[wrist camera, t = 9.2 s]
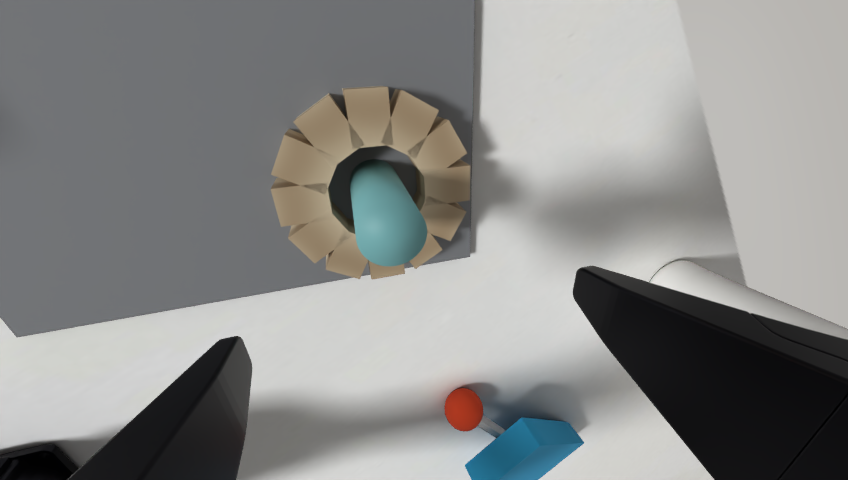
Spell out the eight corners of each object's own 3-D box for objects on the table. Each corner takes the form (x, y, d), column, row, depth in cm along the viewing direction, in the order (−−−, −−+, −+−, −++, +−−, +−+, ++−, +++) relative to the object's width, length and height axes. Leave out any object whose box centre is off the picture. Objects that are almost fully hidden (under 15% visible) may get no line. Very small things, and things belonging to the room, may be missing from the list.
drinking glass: (650, 322, 33) (861, 484, 20) (624, 289, 29) (856, 456, 16) (705, 276, 32) (967, 414, 19) (685, 236, 28) (984, 370, 15)
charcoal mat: (466, 252, 23) (469, 256, 23) (25, 329, 18) (17, 337, 18) (471, -86, 15) (476, -92, 15) (-337, -125, 10) (-374, -136, 9)
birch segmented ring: (457, 247, 22) (468, 261, 20) (301, 274, 20) (299, 292, 18) (457, 81, 18) (471, 81, 16) (254, 93, 15) (244, 95, 14)
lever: (541, 386, 41) (471, 365, 28) (584, 442, 36) (523, 446, 24) (501, 420, 42) (417, 414, 30) (538, 479, 37) (456, 502, 25)
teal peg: (400, 202, 20) (428, 260, 14) (353, 209, 19) (361, 271, 13) (396, 156, 18) (425, 196, 12) (345, 162, 18) (350, 207, 12)
